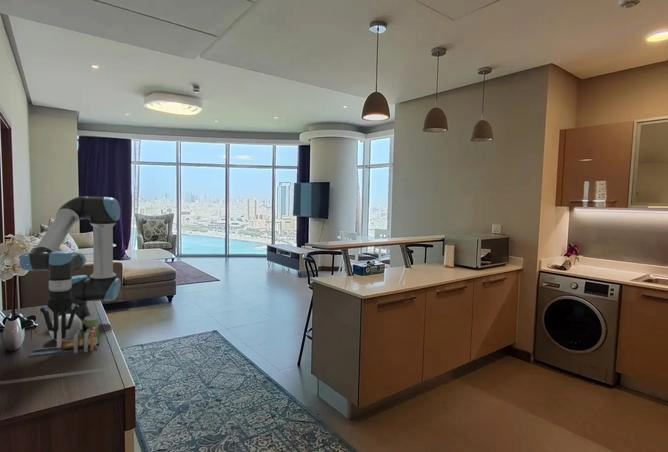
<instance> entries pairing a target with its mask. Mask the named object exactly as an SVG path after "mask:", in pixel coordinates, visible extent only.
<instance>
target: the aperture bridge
mask: <svg viewBox="0 0 668 452" xmlns="http://www.w3.org/2000/svg"><path fill="white" fill-rule="evenodd" d="M94 337H96V327H93V328H92V331H91V343H90V351H91V352H94V351H93V350H94Z"/></svg>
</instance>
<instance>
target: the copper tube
mask: <svg viewBox="0 0 668 452" xmlns="http://www.w3.org/2000/svg"><path fill="white" fill-rule="evenodd" d="M90 343H91V338H88V348H90ZM97 343H98V341H97V337H94V347H96V346H97ZM80 348H84V338H82V337H81V339H78V349H80ZM71 349H74V339H72V340H62V344H61V350H71Z"/></svg>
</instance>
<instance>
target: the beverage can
mask: <svg viewBox="0 0 668 452" xmlns="http://www.w3.org/2000/svg"><path fill="white" fill-rule="evenodd" d="M93 327H96V337H97V342H98V341H99V338H100V336H99V334H100V330H99V329H100V319H99V318H98V315H92V314H91V316H87V317H85V318H84V320H83V323H82V335H81V339H82V338H84V335H85V333H86V331H87V328H91V331H92V328H93Z"/></svg>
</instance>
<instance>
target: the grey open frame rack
mask: <svg viewBox="0 0 668 452" xmlns="http://www.w3.org/2000/svg"><path fill="white" fill-rule="evenodd" d="M100 345H101V343H100V342H97V346H96V347H94V350H93V351H90V348H88V352H87V353H89V352H98V351H99V347H100ZM81 353H85V352H84V348H80V349H78V353H77V354H81ZM71 354H75V353H74V349H71V350H61V348H57V346H53V347H52V346H51V347H43V348H42V347H41V348H33V349H32V352H31V353H29V354H28V357H27V359H34V358H45V357H53V356H60V355H61V356H62V355H71Z"/></svg>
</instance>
